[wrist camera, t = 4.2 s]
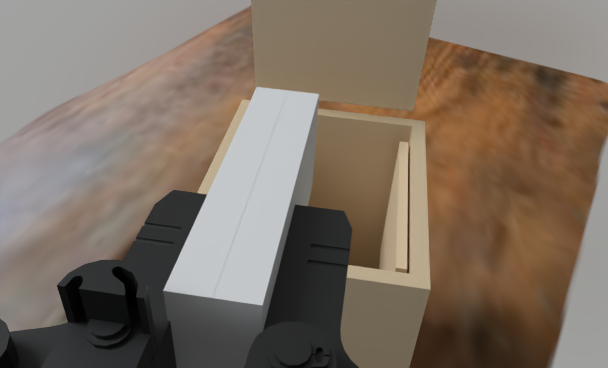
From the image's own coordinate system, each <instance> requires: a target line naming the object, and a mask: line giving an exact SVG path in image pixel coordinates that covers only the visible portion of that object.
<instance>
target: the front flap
mask: <svg viewBox="0 0 608 368" xmlns="http://www.w3.org/2000/svg"><path fill="white" fill-rule="evenodd" d="M436 1H437V0H251V6H252V26H253V47H254V67H255V88H257V87H262V88H271V89H280V90H288V91H297V92H306V93H315V94H319V100H322V101H330V102H339V103H347V104H356V105H364V106H373V107H381V108H390V109H398V110H407V111H413V109H414V105H415V100H416V95H417V90H418V86H419V81H420V76H421V72H422V67H423V62H424V57H425V53H426V48H427V43H428V38H429V33H430V29H431V24H432V20H433V15H434V10H435V5H436Z"/></svg>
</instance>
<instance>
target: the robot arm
mask: <svg viewBox="0 0 608 368" xmlns="http://www.w3.org/2000/svg"><path fill="white" fill-rule="evenodd" d="M318 102H319V94H315V93H306V92H297V91H288V90H280V89H271V88H262V87H257V88H256V90H255V92H254V94H253V96H252V99H251V101H250V103H249V105H248V107H247V109H246V112H245V114H244V116H243V118H242V120H241V123H240V125H239V127H238V129H237V131H236V133H235V136H234V138H233V140H232V142H231V144H230V146H229V149H228V151H227V153H226V155H225V157H224V159H223V162H222V164H221V166H220V168H219V170H218V173H217V175H216V177H215V179H214V181H213V183H212V186H211V188H210V190H209V192H208V194H200V193H192V192H185V191H177V190H173V191H172V192H170V193H169V194H168V195H166V196H165V197H164V198H163V199H161V200H160V201H159V202H157V203H156V204H155V205H154V207H153V209H152V210H151V212H150V214H149V216H148V217H147V219H146V221H145V225H144V226H142V228H141V230H140V232H139V233H138V235H137V237H136V241H134V242H133V244H132V246H131V247H130V249H129V251H128V253H127V255H126V256H125V258H124V260H123V261H120V260H99V261H96V262H92V263H88V264H84V265H82V266H81V267H79V268H77V269H75V270H73V271H72V272H70V273H68V274H67V275H66V276H65V277H64V278H63V279H62V281H61V282H60V283H59V284H58V285H57V287H58V291H59V294H60V297H61V300H62V304H63V307H64V310H65V313H66V317H67V320H68V322H67V323H65V324H61V325H57V326H52V327H46V328H38V329H29V330H21V331H13V332H9V330H8V327H7V325H6V323H5V322H4V321H2V320H1V319H0V368H359V367H358V366H357V365H356V364H355V363H354V362H353V361H352V360H351V359H350V358H349V356H348V355H347V353H346V352H345V350H344V347H343V344H342V341H341V330H340V328H341V320H342V312H343V303H344V295H345V287H346V279H347V270H348V262H349V254H350V246H351V237H352V227H351V225H350V223H349V221H348V218H347V216H346V214H345V212H344V211H341V210H333V209H325V208H318V207H310V206H308V203H309V198H310V194H311V189H312V184H313V170H314V157H315V143H316V129H317V115H318Z"/></svg>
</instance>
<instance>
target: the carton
mask: <svg viewBox="0 0 608 368" xmlns="http://www.w3.org/2000/svg"><path fill="white" fill-rule="evenodd" d="M249 103H250V100H242V102H241V104H240V106H239V108H238V110H237V112H236V114H235V116H234V118H233V120H232V122H231V125H230V127H229V129H228V131H227V133H226V135H225V137H224V139H223V141H222V143H221V145H220V147H219V149H218V151H217V153H216V155H215V157H214V160H213V162H212V164H211V166H210V168H209V170H208V172H207V174H206V176H205V178H204V180H203V182H202V184H201V186H200V188H199V190H198V192H197V193H200V194H208V192H209V190H210V188H211V186H212V183H213V181H214V179H215V177H216V175H217V173H218V170H219V168H220V166H221V164H222V162H223V159H224V157H225V155H226V153H227V151H228V149H229V146H230V144H231V142H232V140H233V138H234V136H235V133H236V131H237V129H238V127H239V125H240V123H241V120H242V118H243V116H244V114H245V112H246V109H247V107H248V105H249ZM308 206H310V207H318V208H325V209H333V210H341V211H344V212H345V214H346V216H347V218H348V221H349V223H350V225H351V227H352V237H351V246H350V254H349V262H348V270H347V279H346V287H345V295H344V303H343V312H342V320H341V328H340V330H341V341H342V344H343V347H344V350H345V352H346V353H347V355H348V356H349V358H350V359H351V360H352V361H353V362H354V363H355V364H356V365H357V366H358V367H359V368H409V367H410V363H411V360H412V356H413V352H414V348H415V345H416V341H417V337H418V334H419V330H420V326H421V322H422V319H423V315H424V311H425V308H426V304H427V300H428V296H429V293H430V265H429V236H428V207H427V178H426V149H425V121H419V120H410V119H402V118H393V117H385V116H377V115H368V114H360V113H351V112H343V111H335V110H326V109H318V115H317V129H316V143H315V157H314V170H313V184H312V189H311V194H310V198H309V203H308Z"/></svg>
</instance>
